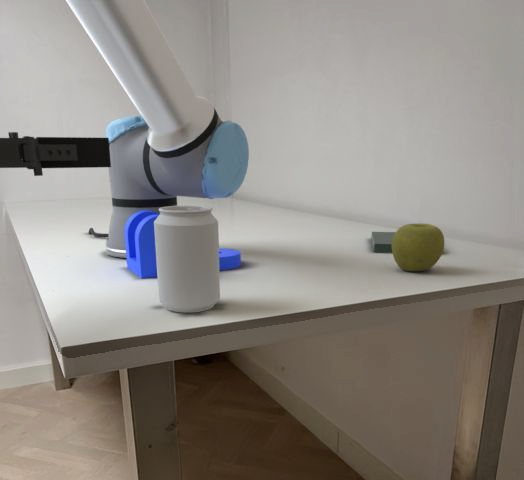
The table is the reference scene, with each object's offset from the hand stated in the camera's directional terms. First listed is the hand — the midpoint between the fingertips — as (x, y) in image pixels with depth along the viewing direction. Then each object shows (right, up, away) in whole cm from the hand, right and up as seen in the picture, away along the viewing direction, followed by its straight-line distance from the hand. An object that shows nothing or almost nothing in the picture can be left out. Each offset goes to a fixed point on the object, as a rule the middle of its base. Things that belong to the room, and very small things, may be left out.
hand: (96, 152), depth 58 cm
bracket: (+5, -7, +33) cm, 34 cm away
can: (+8, -15, +11) cm, 21 cm away
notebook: (+45, 0, +53) cm, 70 cm away
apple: (+42, -8, +31) cm, 53 cm away
